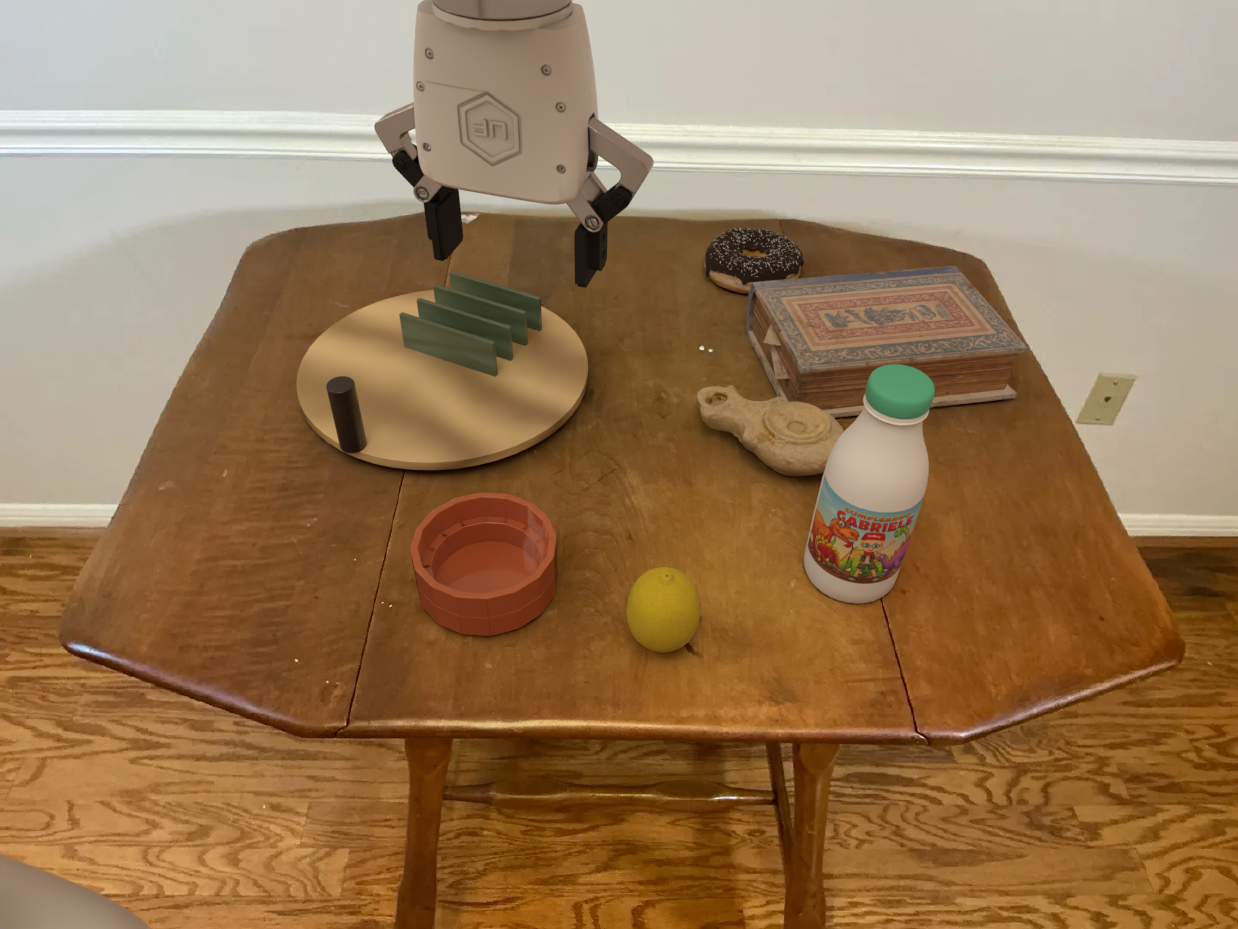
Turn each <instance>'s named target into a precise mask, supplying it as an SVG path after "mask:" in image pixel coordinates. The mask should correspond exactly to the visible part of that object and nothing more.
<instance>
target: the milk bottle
mask: <svg viewBox="0 0 1238 929" xmlns="http://www.w3.org/2000/svg"><path fill="white" fill-rule="evenodd" d="M934 394H935V387H934V384H933V382H932V380H931V379H930V378H929V377H928V376H927V375H926V374H925V373H923V372H922V371H920V370H918V369H916V368H913V367H910V366H906V365H900V364H890V365H884V366H881V367H879V368H877V369H875V370H874V371H873V372H872V373H871V375H870V377H869V379H868V382H867V386H866V391H865V395H864V398H863V402H864V406H865V407H864V409H863V411H862V412H861V414H860V415H857V416H858V417H857V418H856V419H854V421H853V422H852V423H851V424H850V425H849V426H848V427H847V428H846V429H845V430H844V432H843V433H842V434H841V436H840V437H839V438H838V440H837V441H836V443H835V445H834V446H833V448H832V450H831V453H830V455H829V457H828V460H827V464H826V467H825V470H824V473H822V477H821V482H820V486H819V489H818V494H817V498H816V502H815V507H814V510H813V514H812V518H811V523H810V527H809V532H808V536H807V539H806V544H805V549H804V555H803V566H804V570H805V572H806V575H807V577H808V580H809V581H810V582H811V583H812V585H814V587H815V588H816V589H817V590H819V591H820V592H821V593H822V594H824V595H826V596H828V597H829V598H831V599H833V600H836V601H839V602H843V603H845V604H846V603H847V604H855V605H856V604H857V605H859V604H867V603H872V602H875V601H877V600H880V599H881V598H882V597H884V596H885V595H887V594H888V593H889V592H890V591H891V590H892V588H893V587H894V586H895V584H896V581H897V578H898V575H899V573H900V570H901V568H902V564H903V562H904V558H905V556H906V553H907V549H908V547H909V543H910V541H911V538H912V535H913V533H914V529H915V526H916V523H917V521H918V520H917V519H918V517H919V514H920V510H921V507H922V504H923V501H924V497H925V495H926V490H927V487H928V481H929V474H930V464H929V463H930V462H929V454H928V450H927V445H926V443H925V438H924V431H923V421H925V419H927V417H928V416H929V414H930V409H931V408H932V407H931V404H932V401H933V398H934Z"/></svg>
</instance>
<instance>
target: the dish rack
mask: <svg viewBox="0 0 1238 929" xmlns="http://www.w3.org/2000/svg"><path fill="white" fill-rule="evenodd" d="M448 274H449V275H448V276H449V282H450V283H449V284H450V287H448V286H444V285H440V284H438V283H435V284H434V285H433V289H429V290H419V291H415V292H410V293H405V294H400V295H397V296H393V297H389V298H385V299H382V300H379V301H376V302H373V303H370V304H368V305H366V306H364V307H362V308H359V309H357V310H355V311H353V312H351V313H350V314H347V315H346V316H344V317H343V318H341V319H339V320H338V321H337V322H335V323H333V324H332V325H330V326H329V327H328V328H327V329H326V330H325V331H324V332H322V333H321V334H320V335H319V336H318V337H317V338H316V339H315V341H313V342H312V344H311V345H310V346H309V347H308V349H307V351H306V352H305V354H304V356H302V359H301V362H300V365H299V366H298V369H297V375H296V380H295V383H296V384H295V385H296V388H295V389H296V395H297V399H298V403H299V406H300V410H301V413H302V414H303V417H304V418H305V420H306V422H307V423H308V425H309V426H310V427H311V428H312V430H313V431H314V432H315V433H316V434H317V435H318V436H319V437H320V438H322V440H324V441H325V442H326V443H328V444H329V445H330V446H332V447H334V448H335V449H337V450H338V451H340V452H343V453H345V454H347V455H349V456H351V457H352V458H353V457H354V458H356V459H358V460H362V461H365V462H368V463H370V464H374V465H379V466H383V467H388V468H393V469H401V470H411V471H443V470H444V471H446V470H457V469H458V470H459V469H464V468H470V467H476V466H480V465H485V464H488V463H491V462H496V461H497V462H498V461H499V460H502V459H505V458H507V457H511V456H514V455H516V454H519V453H521V452H522V451H525V450H527V449H529V448H531V447H533V446H535V445H537V444H538V443H540V442H542V441H543V440H545V439H547V438H549V437H550V436H552V434H553V433H555V432H556V431H557V430H559V429H560V428H561V427H562V426H563V425H564V424H565V423H566V422H568V420H569V419H570V418H571V417H572V416H573V414H574V413H575V411H576V410H577V409H578V408H579V406H580V404H581V403H582V401H583V398H584V396H585V394H586V390H587V386H588V382H589V360H588V355H587V351H586V348H585V346H584V344H583V341H582V340H581V338H580V337H579V335H578V333H577V332H576V331H575V330H574V329H573V328H572V327H571V325H569V324H568V322H566V321H565V320H564V319H563V318H561V317H560V316H559V315H557V314H556V313H554V312H553V311H551V310H549V308H547V307H544V306H542V297H541V296H538V295H535V294H531V293H528V292H524V291H522V290H518V289H514V288H511V287H508V286H505V285H501V284H498V283H495V282H491V281H487V280H484V279H481V278H477V277H473V276H471V275H467V274H463V273H460V272H457V271H454V270H451V271H449V273H448Z"/></svg>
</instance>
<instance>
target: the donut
mask: <svg viewBox="0 0 1238 929" xmlns="http://www.w3.org/2000/svg"><path fill="white" fill-rule="evenodd" d="M704 255H705V257H704V258H705V259H704V262H703V266H704V270H705V277H706V278H710V280H711V281H712V282H713V283H715V285H717V286H718V287H721V288H723V289H725V290H728V291H730V292H733V293H737V294H744V295H745V294H746V295H749V291H750V287H751V284H752V282H760V281H772V280H784V279H797V278H800V275H801V269H802V267H803V266H804V263H805V260H804V255H803V252H802V250H801V249H800V247H799V246H798V244H797V243H795V242H794V241H793V240H792V239H791V238H789V237H788V236H786V235H784V234H781V233H779V232H776V231H772V230H769V229H764V228H756V227H752V228H751V227H734V228H730V229H728V230H726V231H725V232H722V233H721V234H719V235H717V236H716V238H714V239H713V240H712V241H711V242H710V244H709V245H708V247H707V249H706V251H705V254H704Z"/></svg>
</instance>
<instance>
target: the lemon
mask: <svg viewBox="0 0 1238 929" xmlns="http://www.w3.org/2000/svg"><path fill="white" fill-rule="evenodd" d="M701 607H702V606H701V599H700V596H699V593H698V589H697V587H696V585H695V583H694V581H693V579H691V578H690V577H689V575H687V574H686V573H685V572H683V571H681V570H679V569H678V568H674V567H669V566H658V567H655V568H654V567H653V568H651V569H649V570H647V571H645V572H644V573H642V574H641V575H640V576H639V577H638V578H637V579H636V581H635V582H634V584H633V585H632V587H631V589H630V591H629V595H628V597H627V602H626V608H625V609H626V610H625V611H626V622H627V625H628V628H629V630H630V633H631V635H632V636H633V638H634V639H635V640H636V642H637V643H639V645H641V647H643V648H645V649H647V650H649V651H651V652H656V653H664V654H665V653H671V652H672V653H673V652H675V651H678V650H680V649H682V648H683V647H684V646H685V645H687V644H688V643H690V641H691V640H692V638H693V637H694V636H695V634H696V632H697V629H698V626H699V624H700V620H701Z"/></svg>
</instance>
